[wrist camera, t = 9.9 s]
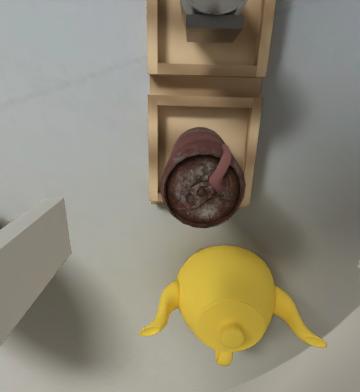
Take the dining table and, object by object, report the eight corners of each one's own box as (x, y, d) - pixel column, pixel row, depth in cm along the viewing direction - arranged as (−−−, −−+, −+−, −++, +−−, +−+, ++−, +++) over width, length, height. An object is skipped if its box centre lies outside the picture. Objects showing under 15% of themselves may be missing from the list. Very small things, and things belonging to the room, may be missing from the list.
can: (235, 136, 30) (266, 165, 17) (212, 185, 32) (224, 244, 19) (185, 115, 30) (179, 129, 16) (166, 166, 32) (146, 215, 19)
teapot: (153, 313, 42) (140, 387, 31) (153, 229, 37) (137, 284, 26) (280, 321, 41) (312, 399, 30) (299, 237, 36) (344, 296, 25)
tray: (150, -73, 25) (145, -95, 22) (277, -72, 25) (288, -94, 22) (152, 199, 35) (149, 208, 32) (243, 203, 35) (248, 213, 32)
